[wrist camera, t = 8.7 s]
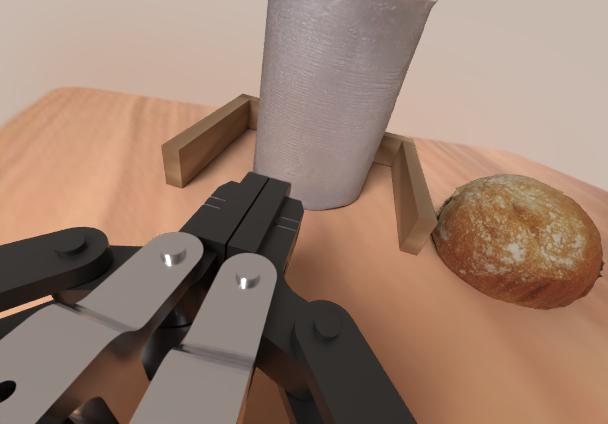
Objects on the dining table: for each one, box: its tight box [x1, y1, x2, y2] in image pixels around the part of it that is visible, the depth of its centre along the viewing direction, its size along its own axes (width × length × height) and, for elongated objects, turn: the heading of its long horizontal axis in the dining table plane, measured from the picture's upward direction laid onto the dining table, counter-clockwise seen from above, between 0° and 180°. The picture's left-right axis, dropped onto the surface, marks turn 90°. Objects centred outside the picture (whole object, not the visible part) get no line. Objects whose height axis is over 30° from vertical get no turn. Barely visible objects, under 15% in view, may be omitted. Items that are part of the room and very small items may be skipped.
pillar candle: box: [253, 0, 437, 210], centre depth 20 cm, size 10×10×15 cm
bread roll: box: [432, 174, 604, 310], centre depth 20 cm, size 10×10×8 cm
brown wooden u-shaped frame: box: [161, 94, 438, 255], centre depth 24 cm, size 18×14×3 cm
